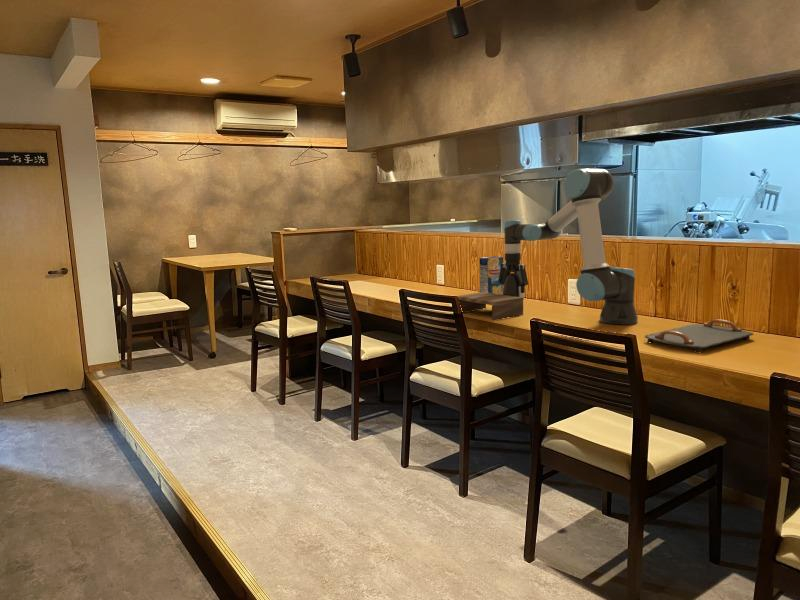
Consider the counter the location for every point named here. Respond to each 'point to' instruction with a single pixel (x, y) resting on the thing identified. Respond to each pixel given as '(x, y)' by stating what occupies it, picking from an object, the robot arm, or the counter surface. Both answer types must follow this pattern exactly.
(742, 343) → the counter surface
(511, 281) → the black rounded dome
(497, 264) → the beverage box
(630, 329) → the counter surface
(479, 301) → the walnut shelf
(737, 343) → the counter surface
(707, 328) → the serving board
